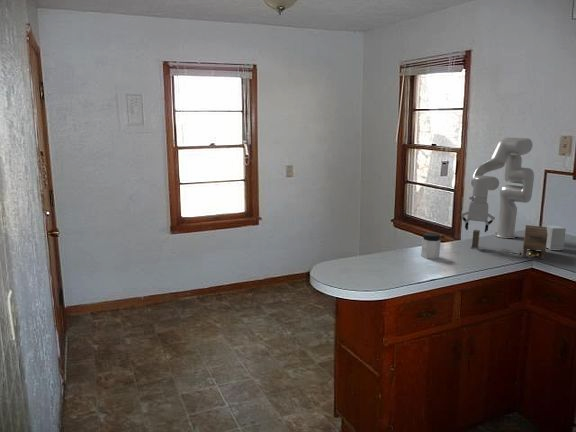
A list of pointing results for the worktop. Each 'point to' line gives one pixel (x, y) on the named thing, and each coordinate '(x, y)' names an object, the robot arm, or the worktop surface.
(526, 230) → the cabinet
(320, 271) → the worktop surface
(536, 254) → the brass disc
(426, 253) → the jar
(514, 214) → the robot arm
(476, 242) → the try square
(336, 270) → the worktop surface
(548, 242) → the supplement box
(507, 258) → the worktop surface
